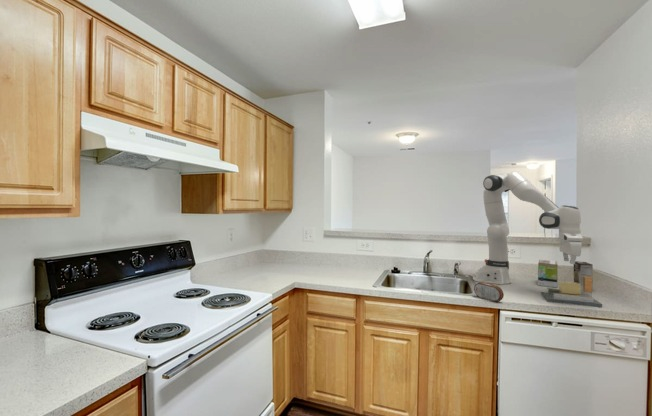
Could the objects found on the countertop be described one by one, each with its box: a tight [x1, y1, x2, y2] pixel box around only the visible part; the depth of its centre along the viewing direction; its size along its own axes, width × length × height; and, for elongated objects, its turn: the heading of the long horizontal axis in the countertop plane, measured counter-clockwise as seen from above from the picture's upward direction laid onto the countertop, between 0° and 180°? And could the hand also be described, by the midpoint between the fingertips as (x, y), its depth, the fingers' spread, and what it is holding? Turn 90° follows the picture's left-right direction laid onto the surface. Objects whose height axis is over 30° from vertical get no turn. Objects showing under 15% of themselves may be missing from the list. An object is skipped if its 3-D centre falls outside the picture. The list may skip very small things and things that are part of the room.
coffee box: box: [573, 260, 594, 293], centre depth 178 cm, size 9×6×16 cm
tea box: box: [537, 259, 559, 289], centre depth 190 cm, size 15×10×15 cm, turn 143°
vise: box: [540, 291, 603, 308], centre depth 156 cm, size 22×14×4 cm, turn 66°
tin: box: [473, 282, 505, 303], centre depth 159 cm, size 15×3×8 cm, turn 30°
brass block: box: [558, 280, 581, 295], centre depth 156 cm, size 4×8×8 cm, turn 66°
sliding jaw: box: [546, 276, 593, 297], centre depth 161 cm, size 19×2×10 cm, turn 66°
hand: (569, 262), depth 156 cm, fingers open, 8 cm apart
